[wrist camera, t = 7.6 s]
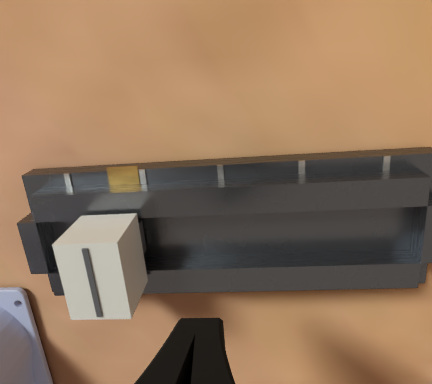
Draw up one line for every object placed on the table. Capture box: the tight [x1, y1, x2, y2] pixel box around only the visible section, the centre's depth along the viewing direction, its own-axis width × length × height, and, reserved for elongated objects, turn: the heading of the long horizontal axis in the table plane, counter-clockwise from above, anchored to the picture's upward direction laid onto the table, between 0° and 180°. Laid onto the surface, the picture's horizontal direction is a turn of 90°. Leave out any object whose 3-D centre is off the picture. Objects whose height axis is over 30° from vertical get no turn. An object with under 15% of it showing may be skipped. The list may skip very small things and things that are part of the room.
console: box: [17, 147, 432, 296], centre depth 20 cm, size 8×21×3 cm, turn 94°
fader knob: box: [52, 213, 148, 320], centre depth 18 cm, size 4×3×5 cm
